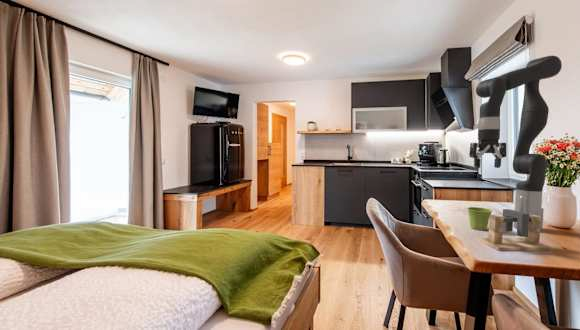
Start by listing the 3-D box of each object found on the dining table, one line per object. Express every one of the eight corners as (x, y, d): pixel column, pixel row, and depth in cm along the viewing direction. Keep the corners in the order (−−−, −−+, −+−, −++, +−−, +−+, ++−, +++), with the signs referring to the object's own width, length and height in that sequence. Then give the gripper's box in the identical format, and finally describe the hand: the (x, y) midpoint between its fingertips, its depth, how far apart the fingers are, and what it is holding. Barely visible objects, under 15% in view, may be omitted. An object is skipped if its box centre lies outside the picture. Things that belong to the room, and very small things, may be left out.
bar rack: (527, 240, 116) (528, 212, 115) (553, 250, 105) (555, 219, 104) (476, 240, 115) (478, 212, 114) (497, 250, 104) (499, 219, 103)
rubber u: (508, 229, 114) (509, 209, 114) (528, 236, 105) (529, 214, 105) (502, 229, 114) (502, 209, 113) (521, 236, 105) (522, 214, 104)
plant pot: (495, 232, 126) (496, 212, 126) (470, 230, 128) (471, 210, 128) (485, 226, 135) (486, 207, 135) (462, 225, 137) (463, 206, 137)
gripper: (498, 129, 127) (496, 167, 128) (466, 129, 126) (464, 167, 127) (512, 128, 119) (510, 168, 121) (478, 128, 119) (476, 168, 120)
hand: (487, 167), depth 124 cm, fingers open, 8 cm apart
